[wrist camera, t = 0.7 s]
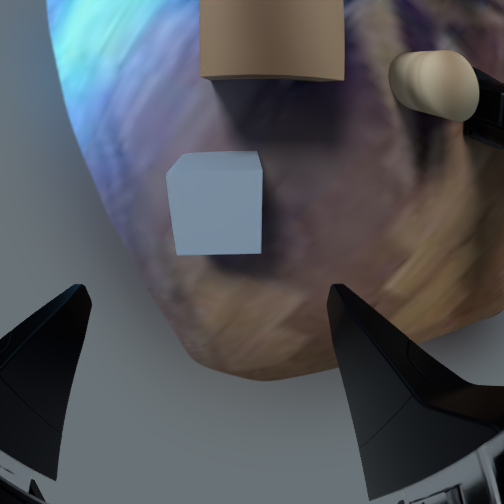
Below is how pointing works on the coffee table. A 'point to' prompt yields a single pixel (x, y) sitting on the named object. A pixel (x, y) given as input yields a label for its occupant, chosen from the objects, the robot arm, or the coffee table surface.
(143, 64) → the coffee table surface
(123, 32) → the coffee table surface
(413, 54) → the beech cylinder
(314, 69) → the tan block
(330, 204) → the coffee table surface
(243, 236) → the blue cube
